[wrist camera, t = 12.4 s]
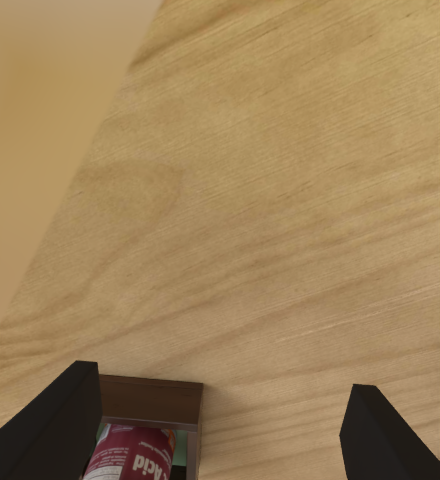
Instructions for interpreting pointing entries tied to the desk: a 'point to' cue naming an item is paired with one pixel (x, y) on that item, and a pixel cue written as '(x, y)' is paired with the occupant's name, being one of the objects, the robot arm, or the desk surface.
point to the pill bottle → (132, 454)
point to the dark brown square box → (156, 415)
